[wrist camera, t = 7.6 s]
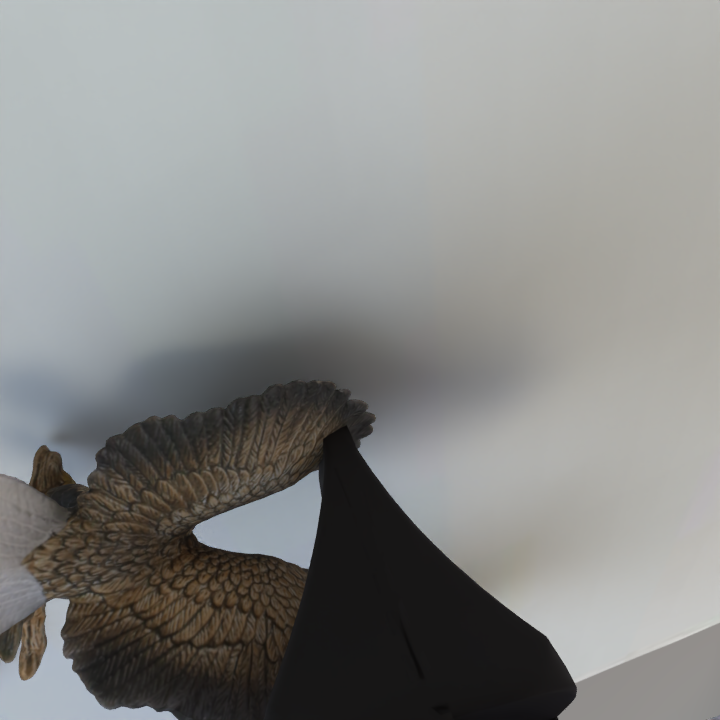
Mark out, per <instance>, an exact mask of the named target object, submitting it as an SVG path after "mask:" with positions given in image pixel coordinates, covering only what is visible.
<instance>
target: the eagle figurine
mask: <svg viewBox="0 0 720 720" xmlns="http://www.w3.org/2000/svg"><path fill="white" fill-rule="evenodd" d="M335 389H336V385H335V384H334V383H333V382H330V381H318V380H314V381H310V382H309V383H307V382H305V381H300V380H297V381H293V382H290V383H289V384H287V385H281V384H275V385H272V386H270V387H268V389H267V390H266V391H265V392H264V393H263V394H262V395H252V396H249V397H242V398H238V399H236V400H234V401H233V402H231V404H230V405H228V407H227V408H226V409H222V408H211V409H210V410H208V411H206V412H195V413H192V414H190V415H189V416H187V417H186V418H185V419H184V420H180V419H178V418H177V417H176V416H175V415H169V416H167V417H164V418H159V417H157V416H152V417H149V418H148V419H146V420H145V421H144V422H140V423H136V424H134V425H133V426H131V427H130V428H128V429H127V430H126V431H125V432H124V433H123V434H119V435H115V436H112V437H110V438H109V439H108V440H106V446H105V447H104V448H102V449H101V450H99V451H98V452H97V454H96V458H95V459H96V462H97V468H96V469H95V470H94V471H93V472H92V473H91V474H90V475H89V477H88V479H87V483H88V486H89V487H86V486H84V485H81V484H76V483H75V481H74V480H73V479H72V478H71V476H70V475H69V474H68V473H66V472H65V471H64V470H63V468H62V459H61V455H60V454H59V453H57V452H51V451H50V450H49V449H48V447H47V446H46V445H43V446H41V447H40V448H39V449H38V451H37V452H36V454H35V457H34V460H33V471H32V477H31V480H30V483H29V485H28V484H26V483H25V482H23V481H21V480H19V479H17V478H15V477H11V476H7V475H5V474H0V658H1V659H2V660H3V661H4V662H5V663H10V662H12V661H13V660H14V658H15V656H16V653H17V650H18V647H19V644H20V641H21V639H22V645H21V651H20V656H19V675H20V678H21V680H24V681H25V680H27V679H30V678H31V677H32V676H33V675H34V674H35V673H36V671H37V669H38V667H39V665H40V663H41V659H42V656H43V654H44V652H45V649H46V646H47V637H46V634H45V625H44V622H45V618H46V614H45V606H46V602H48V601H50V600H52V599H54V598H61V599H69V601H70V604H69V607H68V610H67V614H66V622H65V624H64V626H63V628H62V630H61V637H62V638H63V640H64V646H63V655H64V656H65V658H66V659H73V665H72V669H73V671H74V672H76V673H77V674H78V675H79V677H80V679H81V681H82V682H83V683H84V684H85V686H86V688H87V690H88V691H89V692H90V693H91V694H93V695H94V696H95V698H96V699H97V701H98V702H99V704H100V705H101V706H103V707H104V708H105V709H109V710H111V709H116V708H119V707H121V706H122V707H128V708H132V709H134V708H141V707H144V706H149V707H151V708H153V709H155V710H156V711H157V712H162V711H169V712H171V713H172V714H173V715H174V716H175V717H176V718H177V719H178V720H264V717H265V713H266V709H267V704H268V700H269V697H270V694H271V691H272V688H273V686H274V683H275V680H276V677H277V674H278V671H279V668H280V666H281V663H282V660H283V657H284V654H285V651H286V648H287V645H288V642H289V638H290V635H291V632H292V629H293V625H294V622H295V619H296V615H297V612H298V609H299V605H300V602H301V598H302V595H303V591H304V587H305V583H306V579H307V575H308V571H309V569H305V568H301V567H299V566H298V565H295V564H293V563H289V562H285V561H283V560H282V559H279V558H276V557H273V556H268V555H262V554H245V553H236V552H230V551H226V550H221V549H217V548H213V547H208V546H207V545H205V544H203V543H200V542H198V540H197V538H196V536H195V535H194V534H193V532H192V530H193V529H194V528H195V526H196V525H197V524H199V523H201V522H203V521H205V520H208V519H210V518H212V517H214V516H216V515H219V514H221V513H224V512H227V511H229V510H232V509H234V508H237V507H240V506H242V505H245V504H248V503H251V502H253V501H256V500H259V499H262V498H265V497H267V496H269V495H271V494H274V493H276V492H279V491H282V490H284V489H286V488H288V487H290V486H292V485H294V484H296V483H297V482H298V481H299V480H301V479H302V478H304V477H305V476H307V475H308V474H309V473H310V472H313V471H316V470H319V463H320V462H321V460H322V457H323V439H324V438H325V437H326V436H328V435H329V434H331V433H333V432H334V431H336V430H338V429H340V428H341V427H344V426H346V425H347V427H348V429H349V431H350V433H351V435H352V438H353V441H354V443H355V446H356V448H357V449H358V448H359V447H360V439H361V438H364V437H367V436H368V435H370V434H371V433H372V432H373V427H372V426H371V425H370V424H372V423H373V422H374V421H375V419H376V417H375V415H374V414H372V413H369V412H365V411H366V410H367V409H368V404H367V403H365V402H364V401H360V400H349V401H348V398H349V397H350V395H351V392H350V390H349V389H342V390H335Z"/></svg>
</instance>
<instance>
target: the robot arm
mask: <svg viewBox="0 0 720 720" xmlns="http://www.w3.org/2000/svg"><path fill="white" fill-rule="evenodd" d="M319 482H320V489H321V496H322V502H321V509H320V516H319V522H318V528H317V534H316V539H315V544H314V549H313V554H312V558H311V563H310V567H309V571H308V575H307V579H306V583H305V587H304V591H303V595H302V598H301V602H300V605H299V609H298V612H297V615H296V619H295V622H294V625H293V629H292V632H291V635H290V638H289V642H288V645H287V648H286V651H285V654H284V657H283V660H282V663H281V666H280V668H279V671H278V674H277V677H276V680H275V683H274V686H273V688H272V691H271V694H270V697H269V700H268V704H267V709H266V713H265V717H264V720H558V718H557V716H558V715H559V714H560V713H561V712H562V711H563V710H564V709H565V708H566V707H567V706H568V705H569V704H570V703H571V702H572V701H573V700H574V698H575V697H576V692H577V687H576V685H575V683H574V681H573V679H572V677H571V676H570V674H569V672H568V670H567V668H566V666H565V665H564V663H563V661H562V660H561V658H560V657H559V655H558V654H557V652H556V651H555V649H554V647H553V646H552V644H551V643H550V641H549V640H548V638H547V637H546V636H545V635H543V634H542V633H541V632H539V631H538V630H536V629H535V628H534V627H532V626H531V625H530V624H528V623H527V622H525V621H524V620H523V619H521V618H520V617H519V616H517V615H516V614H515V613H513V612H512V611H511V610H509V609H508V608H507V607H505V606H504V605H503V604H501V603H500V602H499V601H498V600H496V599H495V598H494V597H493V596H491V595H490V594H489V593H488V592H486V591H485V590H484V589H483V588H481V587H480V586H479V585H478V584H477V583H476V582H475V581H473V580H472V579H471V578H470V577H469V576H468V575H467V574H466V573H464V572H463V571H462V570H461V569H460V568H459V567H458V566H456V565H455V564H454V563H453V562H452V561H451V560H450V559H449V558H448V557H446V556H445V555H444V554H443V553H442V552H441V551H440V550H439V549H438V548H437V547H436V546H435V545H434V544H433V543H432V542H431V541H430V540H429V539H428V538H427V537H426V536H425V535H424V534H423V533H422V531H421V530H420V529H419V528H418V527H417V526H416V525H415V524H414V523H413V522H412V521H411V519H410V518H409V517H408V516H407V515H406V514H405V513H404V511H403V510H402V509H401V508H400V507H399V505H398V504H397V503H396V502H395V501H394V499H393V498H392V497H391V496H390V494H389V493H388V492H387V491H386V489H385V488H384V487H383V485H382V484H381V483H380V481H379V480H378V479H377V477H376V476H375V475H374V473H373V472H372V470H371V469H370V468H369V466H368V465H367V463H366V462H365V460H364V459H363V457H362V456H361V454H360V453H359V451H358V449H357V448H356V446H355V443H354V441H353V438H352V435H351V433H350V431H349V429H348V427H347V425H346V426H344V427H341V428H340V429H338V430H336V431H334V432H333V433H331V434H329V435H328V436H326V437H325V438H324V439H323V457H322V460H321V462H320V463H319ZM707 720H720V716H717V717H713V718H710V719H707Z"/></svg>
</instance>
